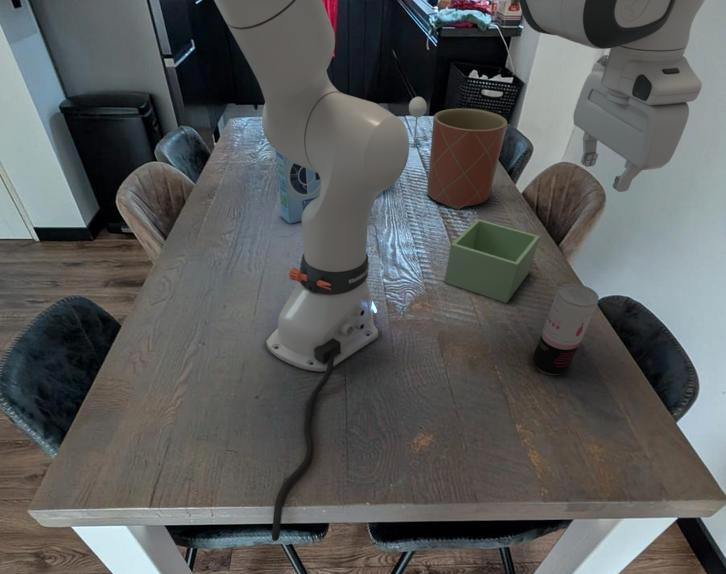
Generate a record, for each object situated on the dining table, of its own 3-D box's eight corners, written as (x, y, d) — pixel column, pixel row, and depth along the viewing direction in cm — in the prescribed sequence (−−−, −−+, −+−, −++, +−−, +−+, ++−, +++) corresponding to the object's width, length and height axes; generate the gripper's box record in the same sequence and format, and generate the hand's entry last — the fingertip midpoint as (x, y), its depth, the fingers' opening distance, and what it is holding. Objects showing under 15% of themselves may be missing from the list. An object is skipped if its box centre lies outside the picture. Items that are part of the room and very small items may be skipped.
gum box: (343, 201, 134) (342, 108, 117) (352, 208, 131) (353, 113, 114) (280, 217, 126) (270, 119, 109) (289, 225, 123) (280, 125, 106)
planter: (457, 179, 147) (470, 104, 132) (504, 200, 137) (523, 122, 122) (411, 192, 139) (418, 114, 124) (456, 216, 129) (470, 135, 114)
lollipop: (402, 145, 167) (406, 95, 156) (416, 143, 169) (421, 93, 158) (410, 150, 163) (415, 100, 152) (425, 148, 165) (431, 98, 154)
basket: (506, 303, 101) (517, 264, 94) (444, 282, 106) (450, 244, 99) (528, 273, 109) (540, 236, 103) (470, 255, 114) (477, 218, 108)
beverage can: (561, 353, 90) (591, 283, 79) (573, 376, 85) (606, 305, 74) (527, 353, 89) (552, 283, 79) (537, 376, 85) (565, 305, 74)
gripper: (579, 53, 70) (553, 153, 80) (664, 94, 56) (620, 208, 67) (618, 50, 70) (587, 150, 81) (712, 89, 57) (660, 203, 68)
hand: (602, 176), depth 74 cm, fingers open, 8 cm apart
